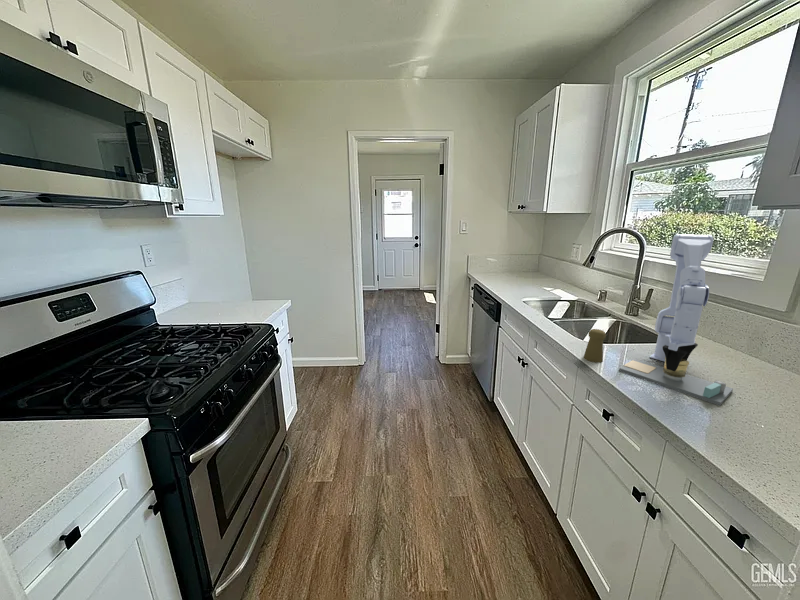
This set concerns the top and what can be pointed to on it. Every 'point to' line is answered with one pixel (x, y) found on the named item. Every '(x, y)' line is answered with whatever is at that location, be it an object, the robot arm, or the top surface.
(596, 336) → the pepper shaker
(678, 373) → the cap
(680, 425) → the top surface
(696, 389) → the post board
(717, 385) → the lock lever
